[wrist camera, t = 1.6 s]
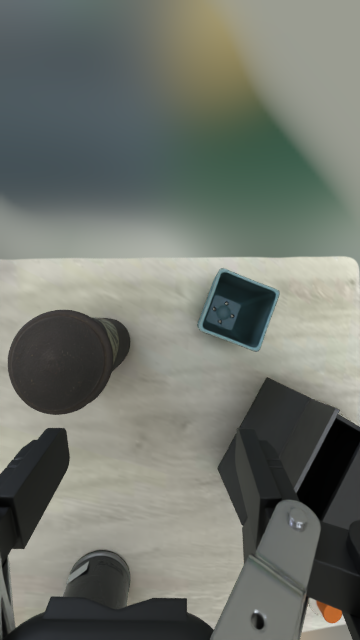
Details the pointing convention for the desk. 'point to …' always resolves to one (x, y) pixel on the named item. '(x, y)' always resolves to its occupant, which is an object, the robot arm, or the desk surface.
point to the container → (65, 359)
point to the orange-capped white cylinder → (325, 611)
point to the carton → (327, 468)
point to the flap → (300, 452)
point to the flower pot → (238, 309)
